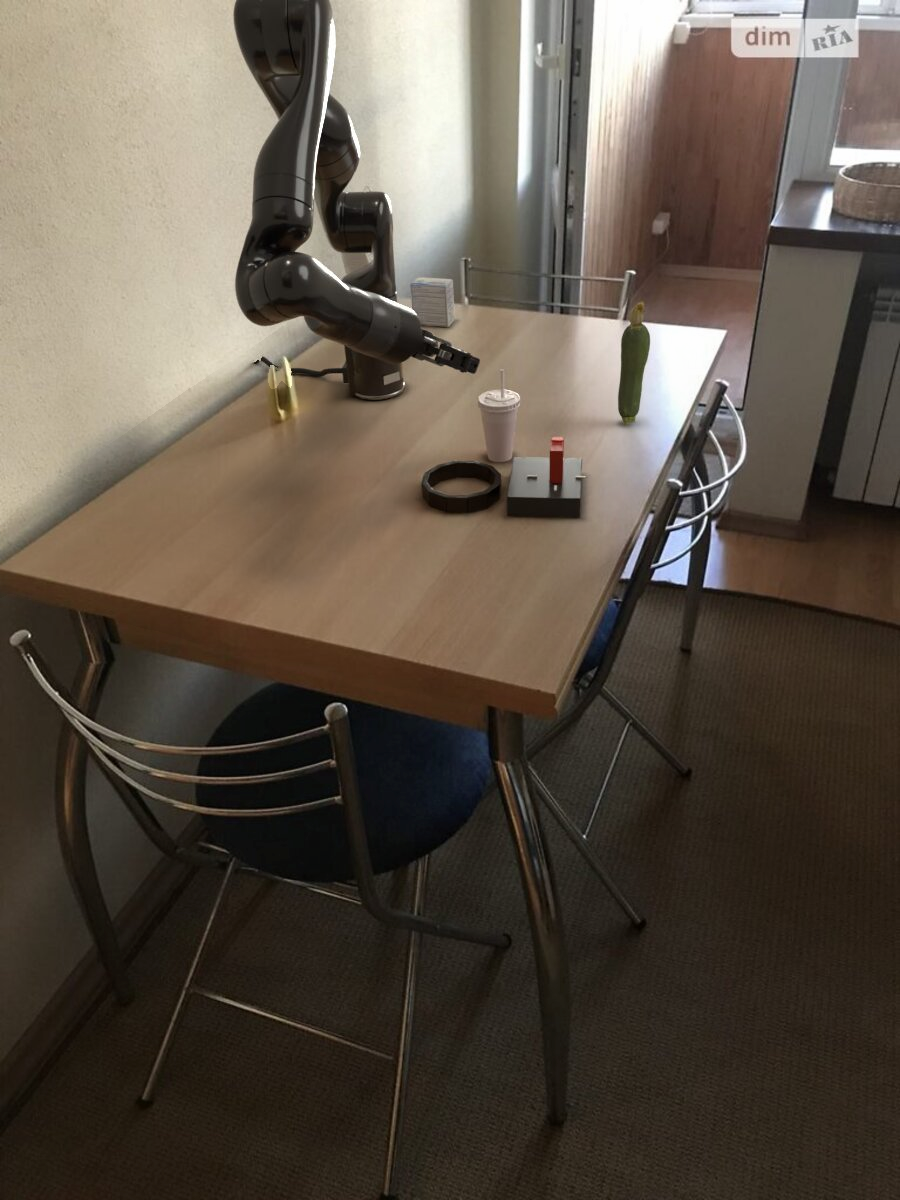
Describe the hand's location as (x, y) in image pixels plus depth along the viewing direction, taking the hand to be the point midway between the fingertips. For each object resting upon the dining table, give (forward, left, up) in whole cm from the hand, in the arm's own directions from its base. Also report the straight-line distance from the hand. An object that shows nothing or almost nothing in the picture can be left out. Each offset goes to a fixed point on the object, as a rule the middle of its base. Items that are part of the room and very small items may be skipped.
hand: (454, 357), depth 135 cm
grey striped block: (-13, +63, -17) cm, 67 cm away
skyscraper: (-26, +58, -17) cm, 66 cm away
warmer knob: (+15, -9, -14) cm, 22 cm away
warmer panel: (+13, -9, -17) cm, 23 cm away
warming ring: (+1, -9, -17) cm, 19 cm away
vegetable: (+26, +16, -17) cm, 35 cm away
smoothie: (+6, +3, -17) cm, 19 cm away
